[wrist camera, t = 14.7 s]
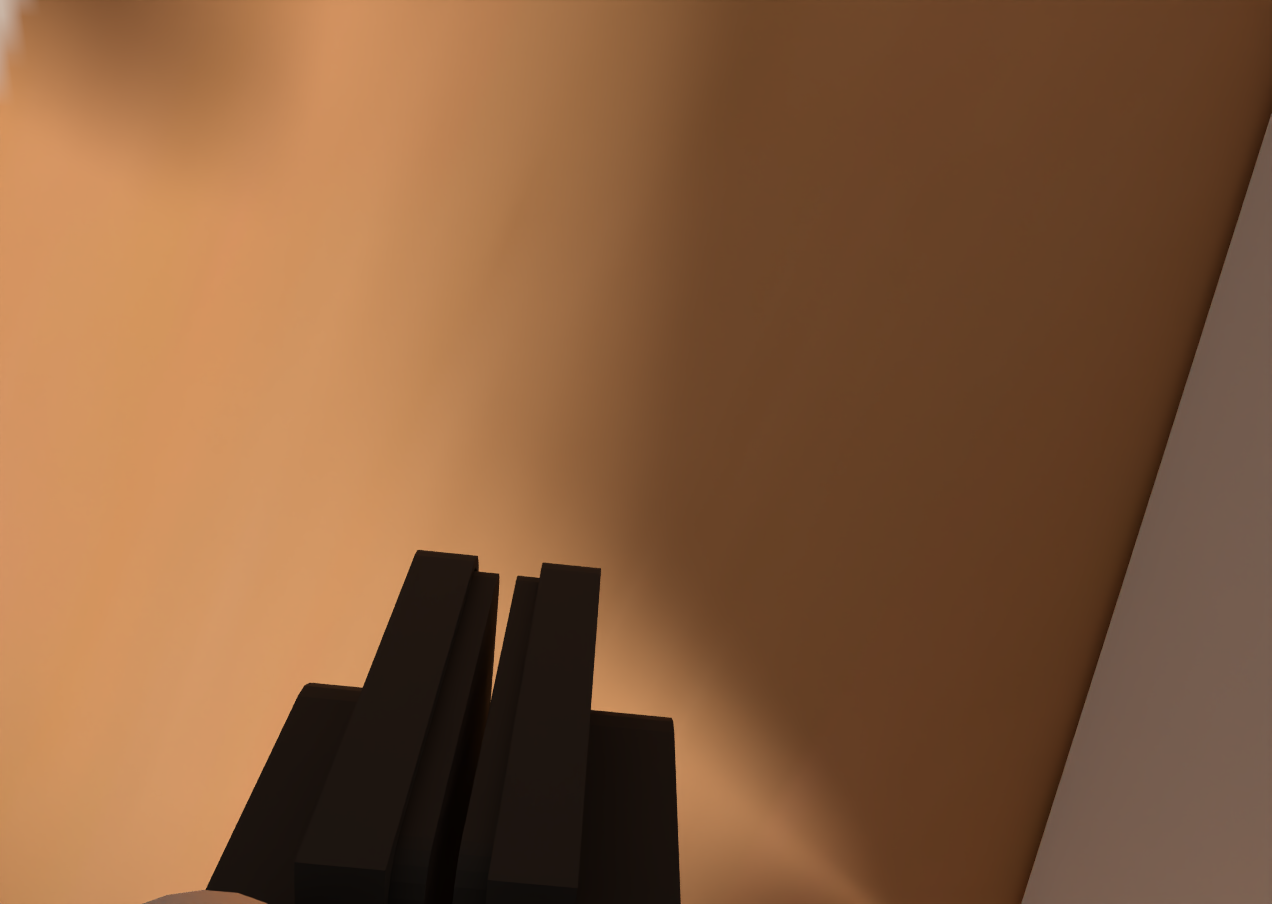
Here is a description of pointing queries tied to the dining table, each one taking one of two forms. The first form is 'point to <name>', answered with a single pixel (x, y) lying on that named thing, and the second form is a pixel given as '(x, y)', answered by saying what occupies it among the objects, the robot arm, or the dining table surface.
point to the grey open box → (1188, 640)
